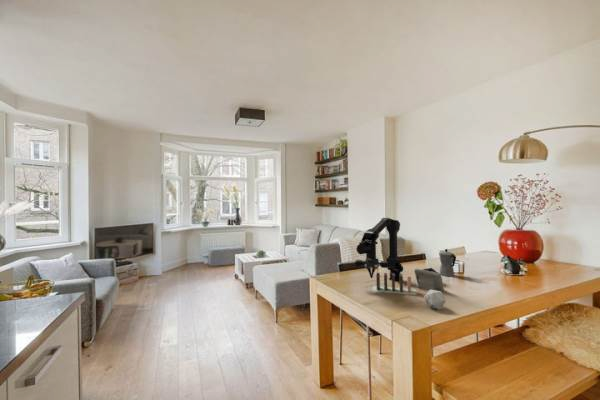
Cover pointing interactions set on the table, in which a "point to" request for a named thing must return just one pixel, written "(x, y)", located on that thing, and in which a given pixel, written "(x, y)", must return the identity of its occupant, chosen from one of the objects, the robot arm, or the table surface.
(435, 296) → the grey rock
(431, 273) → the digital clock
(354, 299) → the table surface
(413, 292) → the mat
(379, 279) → the domino
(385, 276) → the domino
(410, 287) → the domino
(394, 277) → the domino
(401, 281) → the domino
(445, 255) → the coffeepot
